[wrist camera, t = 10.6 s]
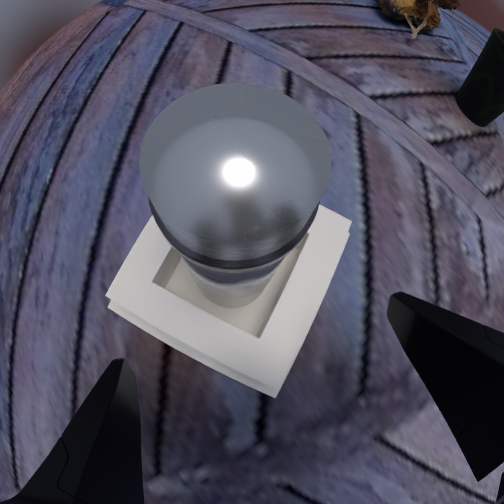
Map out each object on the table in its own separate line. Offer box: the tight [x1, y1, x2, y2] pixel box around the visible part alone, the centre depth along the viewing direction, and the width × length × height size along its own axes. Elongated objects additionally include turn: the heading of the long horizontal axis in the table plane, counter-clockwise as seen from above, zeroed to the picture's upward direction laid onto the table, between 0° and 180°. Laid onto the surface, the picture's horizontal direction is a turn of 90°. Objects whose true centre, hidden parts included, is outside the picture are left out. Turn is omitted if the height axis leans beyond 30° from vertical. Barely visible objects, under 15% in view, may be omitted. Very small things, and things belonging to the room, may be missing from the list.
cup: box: [456, 28, 504, 127], centre depth 23 cm, size 8×8×12 cm
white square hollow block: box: [105, 205, 352, 398], centre depth 18 cm, size 12×12×4 cm
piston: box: [139, 83, 332, 308], centre depth 13 cm, size 5×5×13 cm
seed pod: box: [377, 0, 461, 40], centre depth 29 cm, size 13×16×15 cm
